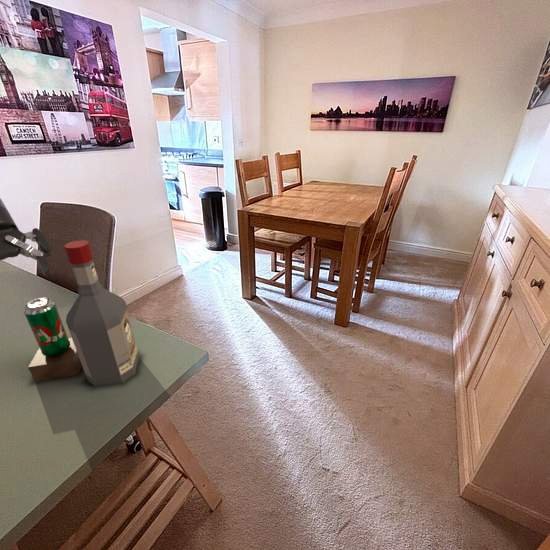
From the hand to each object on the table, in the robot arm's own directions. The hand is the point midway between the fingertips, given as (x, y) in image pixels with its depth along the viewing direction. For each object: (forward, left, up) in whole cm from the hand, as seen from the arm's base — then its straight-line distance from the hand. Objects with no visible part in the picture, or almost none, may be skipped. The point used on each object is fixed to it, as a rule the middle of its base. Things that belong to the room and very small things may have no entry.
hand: (22, 281), depth 61 cm
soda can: (+3, -5, -15) cm, 16 cm away
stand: (+3, -5, -20) cm, 21 cm away
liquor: (+14, -9, -20) cm, 26 cm away
